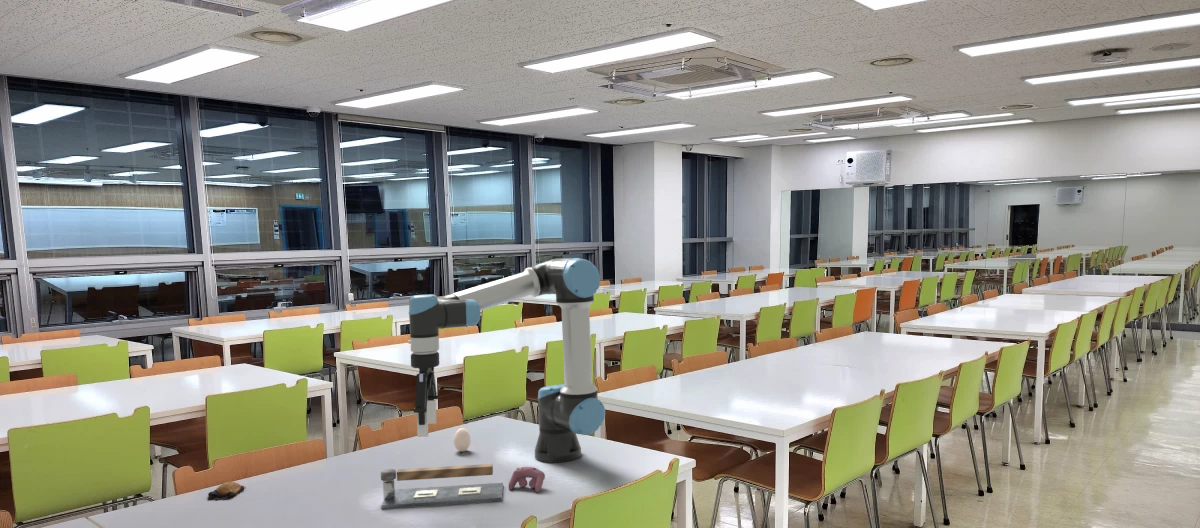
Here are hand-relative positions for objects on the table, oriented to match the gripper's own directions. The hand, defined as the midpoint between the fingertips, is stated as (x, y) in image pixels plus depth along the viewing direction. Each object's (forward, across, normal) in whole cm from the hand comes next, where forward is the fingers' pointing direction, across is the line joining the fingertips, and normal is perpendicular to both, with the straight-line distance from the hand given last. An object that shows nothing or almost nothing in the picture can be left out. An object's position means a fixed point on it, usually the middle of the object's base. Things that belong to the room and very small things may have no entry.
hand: (427, 429), depth 198 cm
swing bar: (+14, -4, +2) cm, 15 cm away
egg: (+20, -47, +4) cm, 51 cm away
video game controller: (+20, -7, +26) cm, 34 cm away
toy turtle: (+21, -16, -61) cm, 66 cm away
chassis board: (+20, -4, +4) cm, 21 cm away
